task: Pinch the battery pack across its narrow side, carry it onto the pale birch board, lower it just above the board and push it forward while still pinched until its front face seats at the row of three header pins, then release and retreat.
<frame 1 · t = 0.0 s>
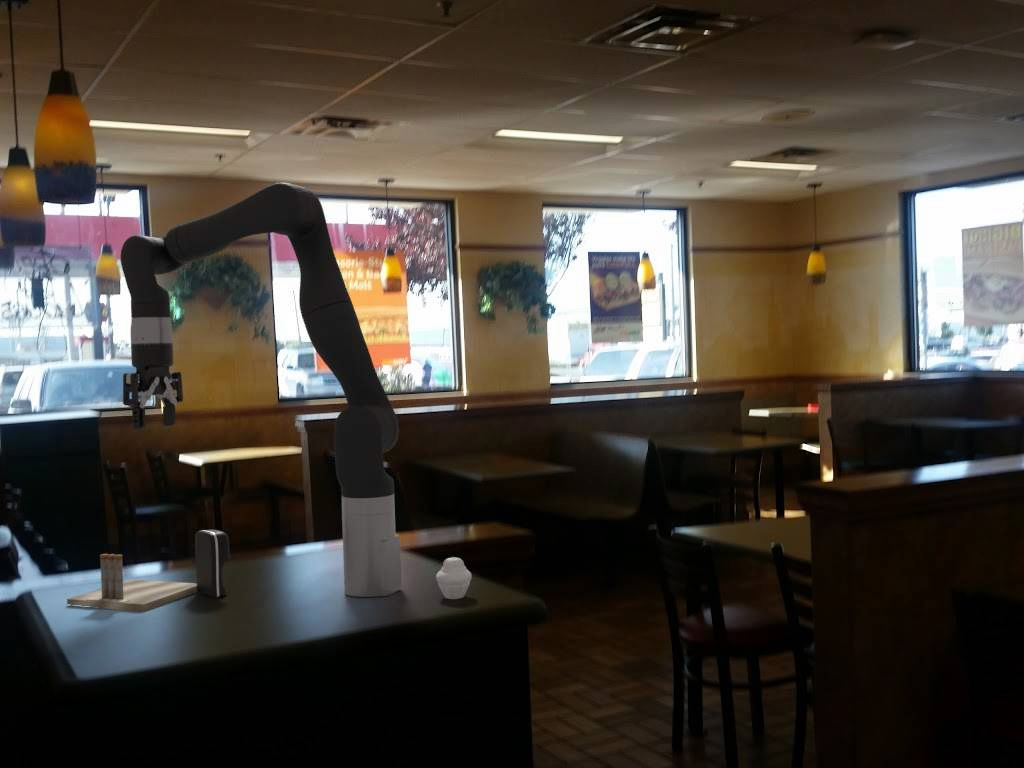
hand: (154, 427, 198), 29 cm above the table, tool pointing down, fingers open, 8 cm apart
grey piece: (454, 598, 178), on the table
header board: (136, 598, 184), on the table
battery: (214, 595, 185), on the table
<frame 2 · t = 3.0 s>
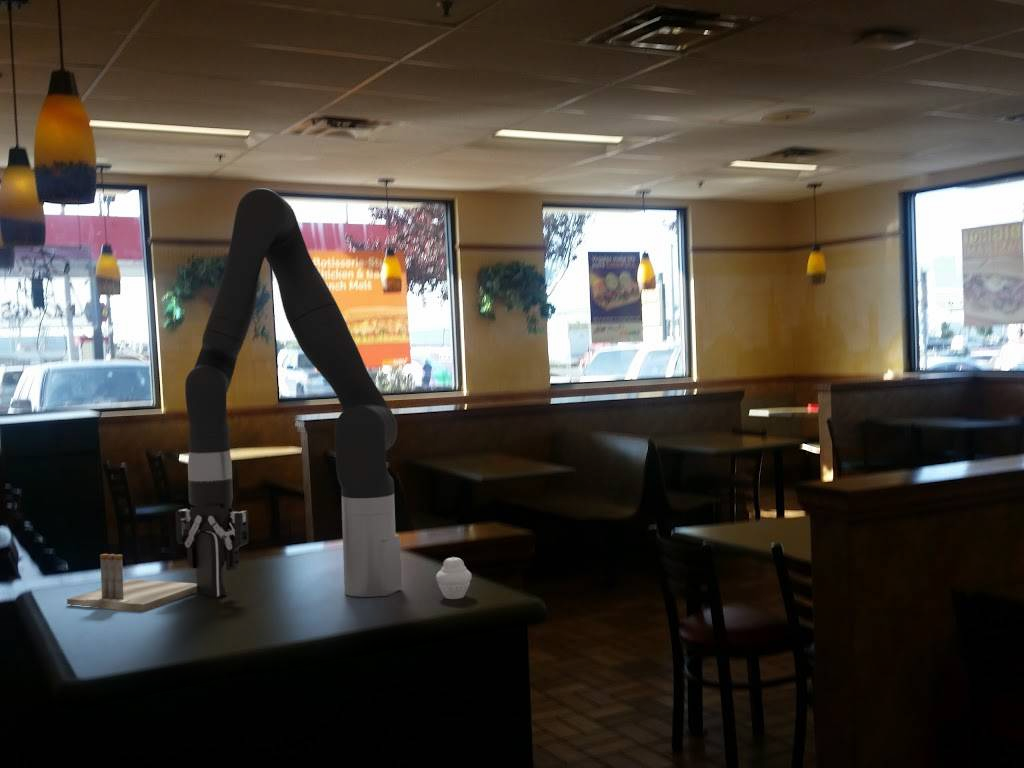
hand: (213, 568, 185), 5 cm above the table, tool pointing down, fingers closed on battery, 7 cm apart
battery: (214, 595, 185), on the table, touching gripper
everything else where it was.
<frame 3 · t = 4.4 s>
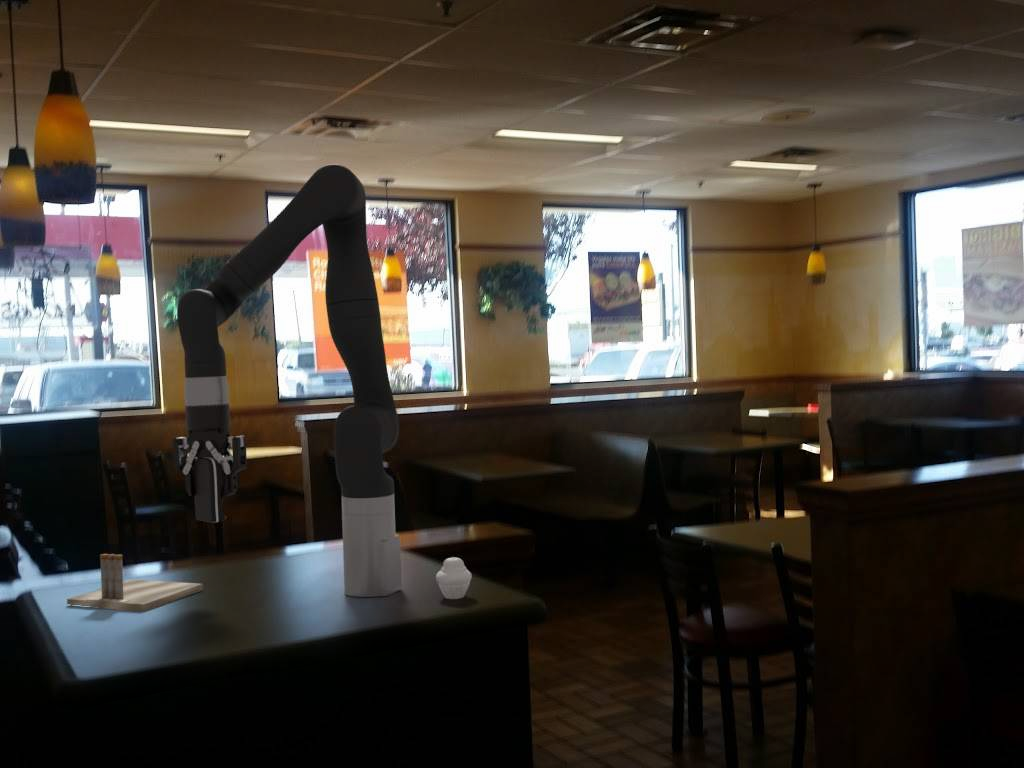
hand: (211, 495, 185), 18 cm above the table, tool pointing down, fingers closed on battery, 7 cm apart
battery: (213, 521, 185), point 13 cm above the table, touching gripper
everything else where it was.
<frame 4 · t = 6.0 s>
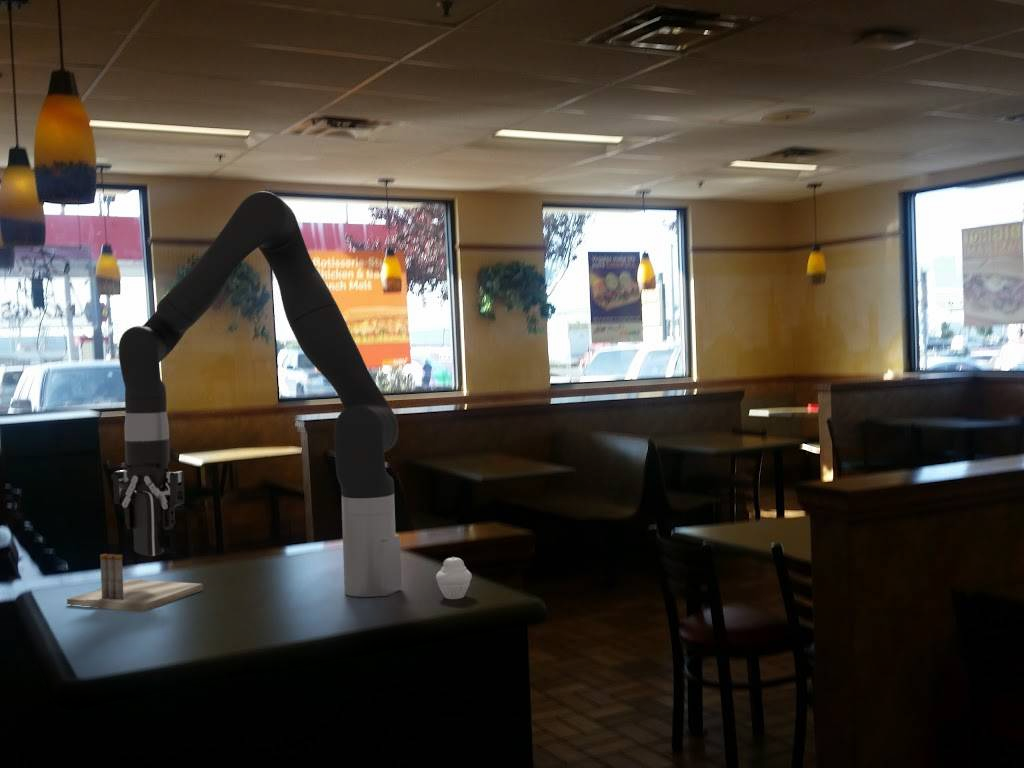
hand: (149, 528, 187), 12 cm above the table, tool pointing down, fingers closed on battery, 7 cm apart
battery: (151, 554, 187), point 7 cm above the table, touching gripper
everything else where it was.
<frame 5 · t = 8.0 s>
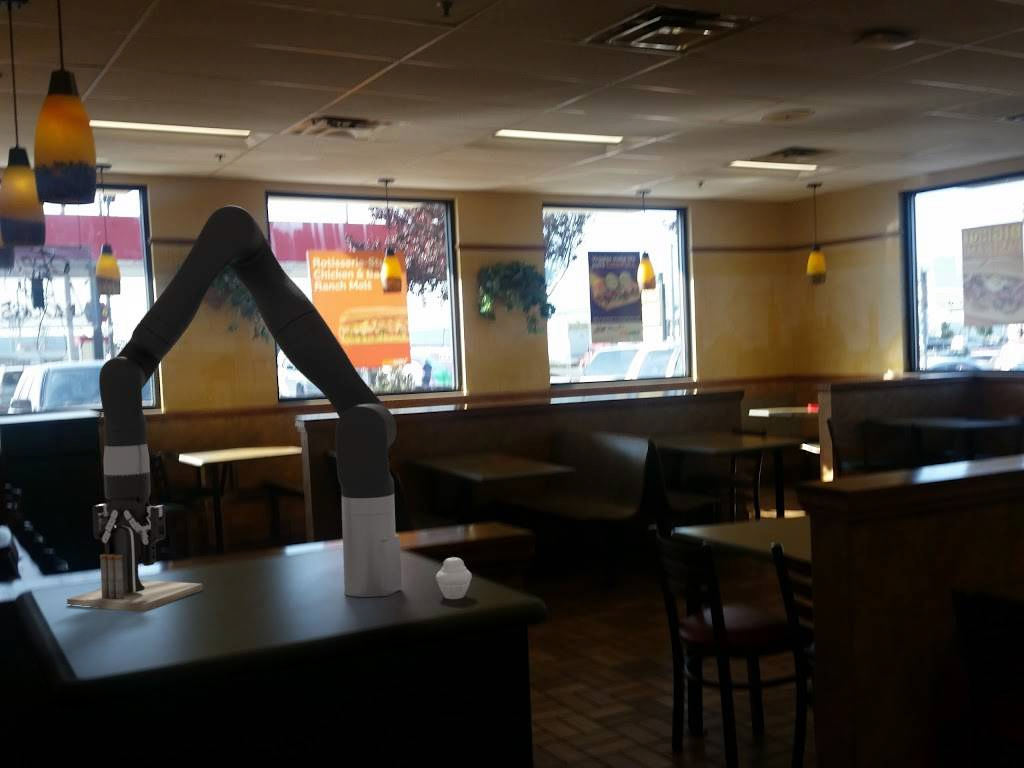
hand: (130, 564, 182), 6 cm above the table, tool pointing down, fingers closed on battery, 7 cm apart
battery: (132, 591, 182), point 2 cm above the table, touching gripper
everything else where it was.
when the fingers open (6 cm above the table, at t = 9.3 s): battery stays where it is, resting on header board.
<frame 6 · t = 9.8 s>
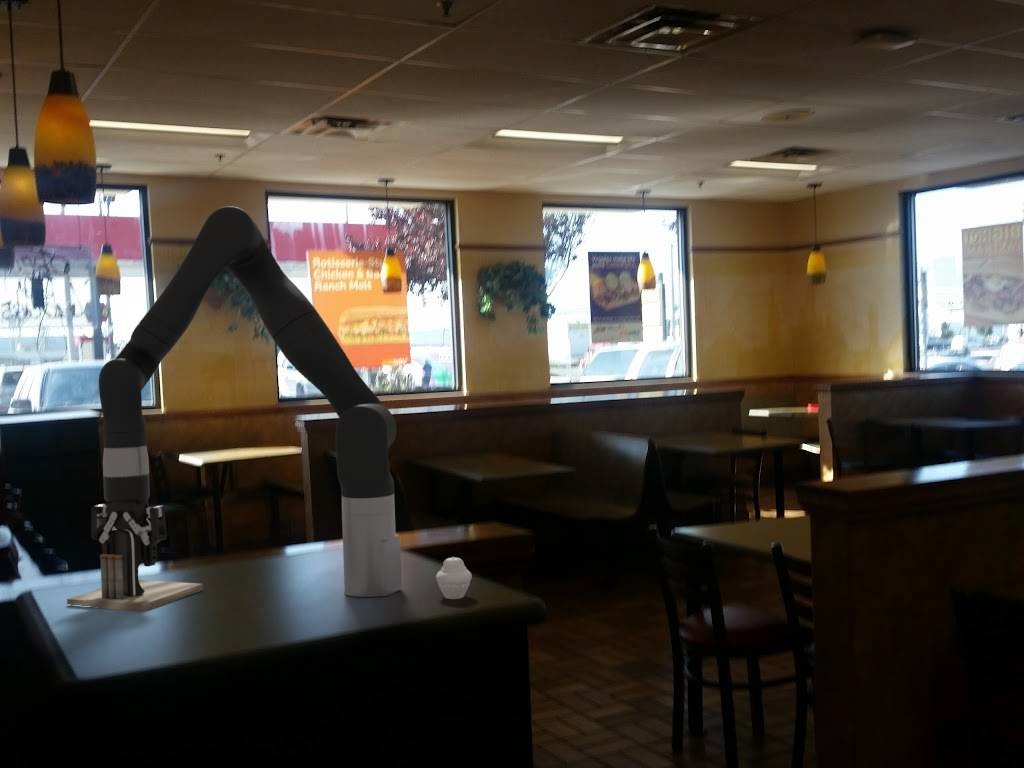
hand: (129, 564, 182), 6 cm above the table, tool pointing down, fingers open, 8 cm apart
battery: (132, 594, 182), point 1 cm above the table, touching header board
everything else where it was.
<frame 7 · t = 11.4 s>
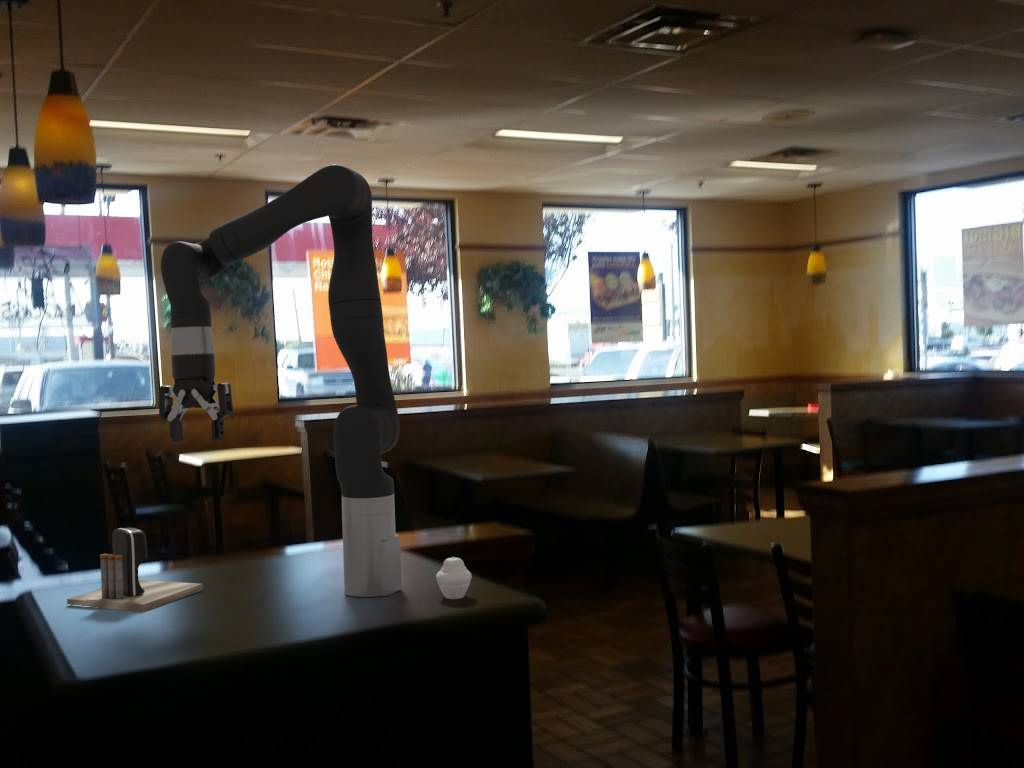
hand: (197, 441, 190), 27 cm above the table, tool pointing down, fingers open, 8 cm apart
nothing on the table moved.
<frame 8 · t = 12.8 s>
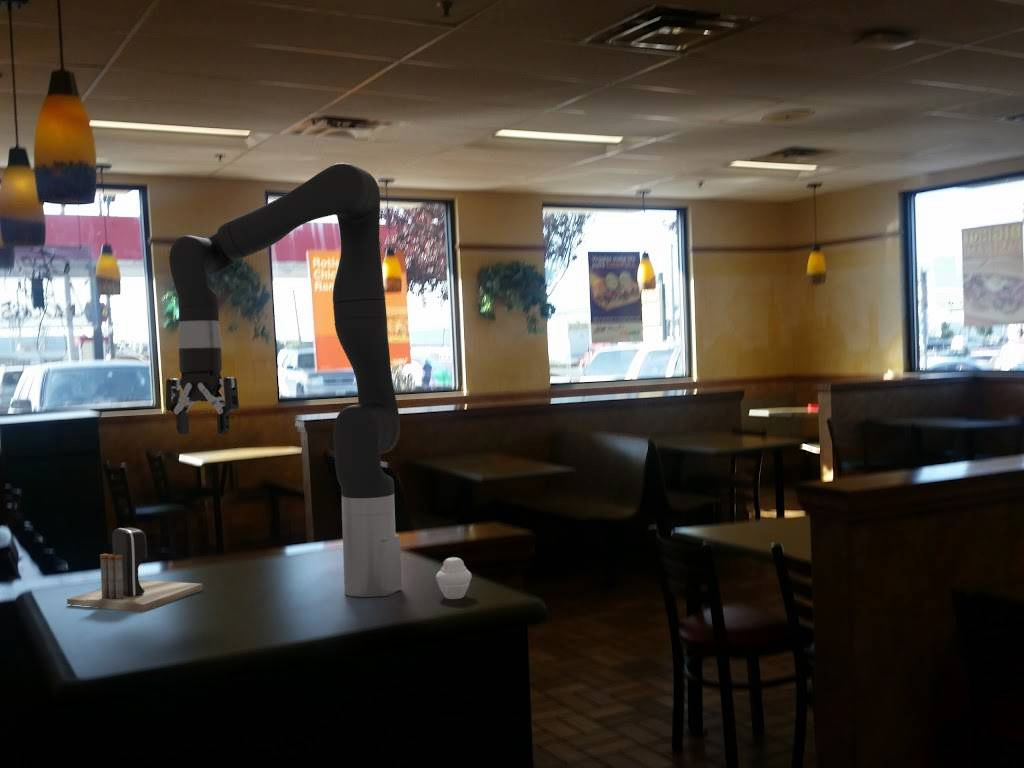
hand: (203, 434, 191), 28 cm above the table, tool pointing down, fingers open, 8 cm apart
nothing on the table moved.
at the end: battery 0.4 cm from the target spot, point 1.0 cm above the table; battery tilted 0°; the gripper is holding nothing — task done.
